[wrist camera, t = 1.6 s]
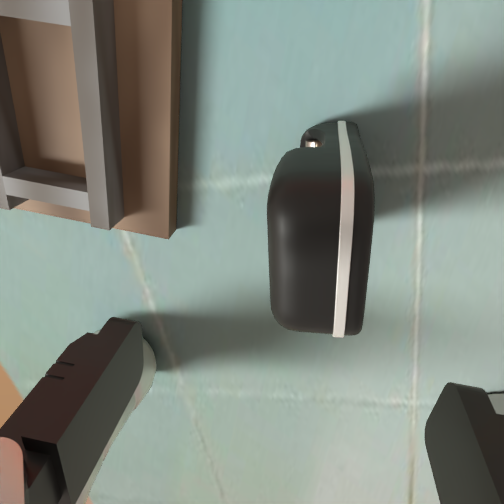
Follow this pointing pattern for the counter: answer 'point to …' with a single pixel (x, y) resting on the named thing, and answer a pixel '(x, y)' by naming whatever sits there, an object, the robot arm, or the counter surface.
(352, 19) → the counter surface
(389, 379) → the counter surface
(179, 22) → the rail block
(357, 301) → the battery charger
